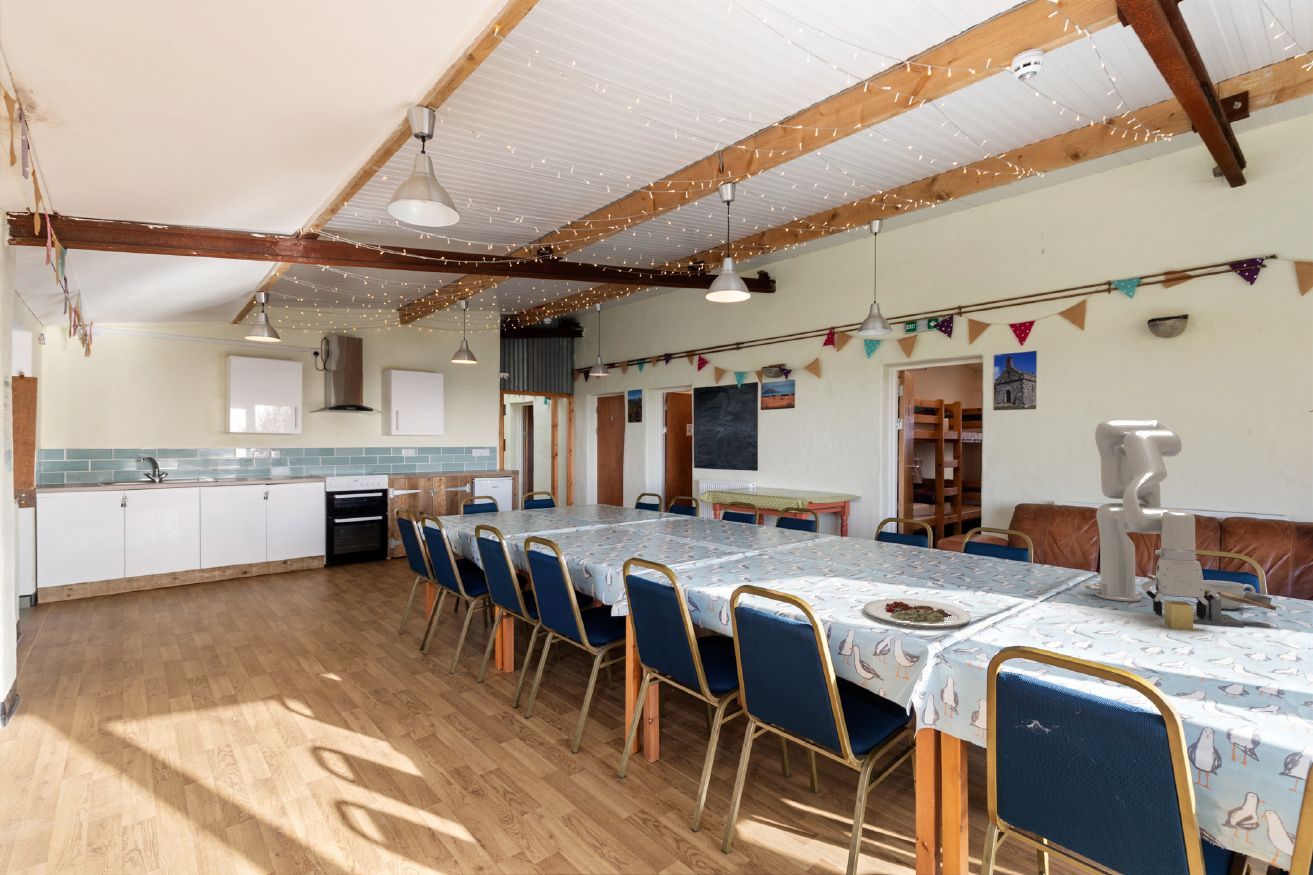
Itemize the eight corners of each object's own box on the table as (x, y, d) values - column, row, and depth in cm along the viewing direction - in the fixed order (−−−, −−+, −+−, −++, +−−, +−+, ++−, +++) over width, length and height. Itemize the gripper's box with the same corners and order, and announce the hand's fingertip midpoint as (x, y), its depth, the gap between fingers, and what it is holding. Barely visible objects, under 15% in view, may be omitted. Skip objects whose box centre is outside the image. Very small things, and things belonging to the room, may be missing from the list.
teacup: (1204, 609, 201) (1204, 583, 201) (1194, 601, 210) (1194, 577, 210) (1263, 614, 194) (1263, 588, 194) (1250, 606, 204) (1250, 581, 204)
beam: (1154, 581, 190) (1157, 572, 189) (1146, 577, 196) (1148, 567, 196) (1275, 610, 180) (1278, 600, 180) (1262, 604, 186) (1264, 594, 186)
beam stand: (1192, 623, 185) (1191, 590, 185) (1176, 614, 195) (1176, 582, 195) (1244, 627, 181) (1244, 594, 181) (1225, 617, 191) (1225, 585, 191)
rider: (1171, 629, 180) (1171, 604, 180) (1164, 624, 185) (1164, 600, 185) (1193, 631, 178) (1193, 605, 178) (1185, 626, 183) (1185, 601, 183)
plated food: (958, 638, 173) (957, 625, 173) (849, 620, 192) (849, 608, 192) (980, 614, 197) (980, 603, 197) (882, 599, 215) (881, 589, 215)
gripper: (1146, 555, 181) (1147, 616, 181) (1222, 559, 175) (1224, 622, 174) (1136, 551, 188) (1137, 610, 188) (1210, 554, 182) (1211, 615, 182)
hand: (1179, 616), depth 181 cm, fingers open, 9 cm apart
